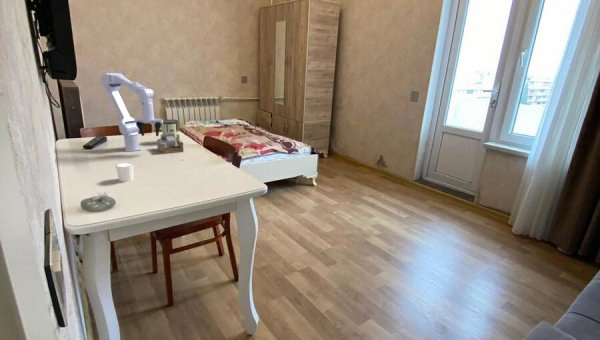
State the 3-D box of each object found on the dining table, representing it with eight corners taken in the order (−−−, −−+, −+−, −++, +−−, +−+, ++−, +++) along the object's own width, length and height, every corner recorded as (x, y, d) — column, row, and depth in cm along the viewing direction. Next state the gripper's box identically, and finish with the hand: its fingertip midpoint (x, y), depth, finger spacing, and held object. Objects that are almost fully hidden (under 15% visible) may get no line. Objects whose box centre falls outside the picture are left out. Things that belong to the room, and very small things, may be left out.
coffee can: (173, 139, 216) (171, 118, 212) (183, 142, 211) (182, 121, 207) (159, 142, 208) (157, 120, 204) (169, 145, 203) (168, 123, 198)
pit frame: (157, 148, 195) (156, 138, 193) (177, 146, 201) (177, 137, 199) (162, 153, 185) (161, 143, 183) (183, 151, 191) (182, 141, 189)
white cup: (123, 183, 141) (121, 168, 139) (114, 179, 144) (112, 165, 142) (138, 179, 147) (136, 164, 144) (129, 175, 150) (127, 161, 148)
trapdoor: (159, 138, 194) (159, 134, 192) (174, 137, 198) (174, 133, 197) (163, 148, 188) (163, 144, 186) (178, 146, 193) (179, 142, 191)
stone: (167, 147, 189) (167, 140, 186) (165, 143, 191) (166, 136, 189) (175, 146, 191) (175, 140, 188) (173, 142, 193) (173, 136, 191)
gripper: (163, 110, 182) (165, 134, 186) (136, 109, 180) (139, 133, 184) (159, 112, 175) (162, 137, 179) (131, 111, 173) (134, 136, 178)
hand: (150, 135), depth 181 cm, fingers open, 7 cm apart
